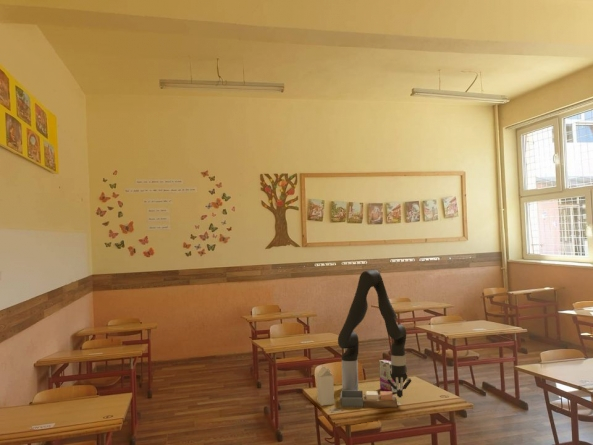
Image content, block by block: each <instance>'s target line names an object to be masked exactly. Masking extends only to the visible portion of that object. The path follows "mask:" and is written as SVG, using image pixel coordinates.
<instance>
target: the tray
mask: <svg viewBox="0 0 593 445" xmlns="http://www.w3.org/2000/svg"><path fill="white" fill-rule="evenodd" d="M363 394H364V393H363V390H359V389H358V390H343V389H342V390H340V399H339V400H340V408H362V409H363V408H364V402H363Z"/></svg>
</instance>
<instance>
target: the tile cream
mask: <svg viewBox="0 0 593 445" xmlns="http://www.w3.org/2000/svg"><path fill="white" fill-rule="evenodd" d="M365 394H366V399H374V400H378V394H379V393H378V390H377V391H376V390H375V391H373V390H369V391H368V390H367V391H366V390H365Z"/></svg>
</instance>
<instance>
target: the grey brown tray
mask: <svg viewBox="0 0 593 445" xmlns="http://www.w3.org/2000/svg"><path fill="white" fill-rule="evenodd" d="M392 395H393V400H381V397H380V393H378V400H374V399H366V393H365V394H364V393H363V408H398V400H397V395H396V394H392Z"/></svg>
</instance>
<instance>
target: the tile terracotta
mask: <svg viewBox="0 0 593 445" xmlns="http://www.w3.org/2000/svg"><path fill="white" fill-rule="evenodd" d="M379 394H380V397H381V400H393V395H394V394H393V393H392V391H384V390H382V391H379Z"/></svg>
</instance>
